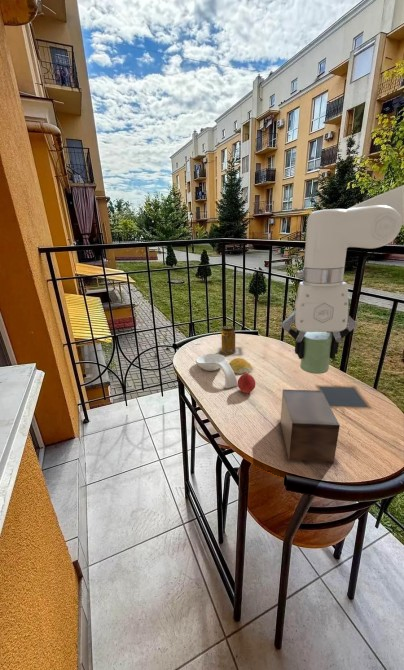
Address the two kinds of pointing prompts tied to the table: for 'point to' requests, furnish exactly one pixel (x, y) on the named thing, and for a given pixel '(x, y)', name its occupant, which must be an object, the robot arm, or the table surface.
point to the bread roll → (240, 365)
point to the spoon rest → (216, 362)
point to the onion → (246, 383)
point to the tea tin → (316, 352)
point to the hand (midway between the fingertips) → (315, 355)
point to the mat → (342, 397)
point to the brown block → (308, 426)
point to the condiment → (228, 340)
